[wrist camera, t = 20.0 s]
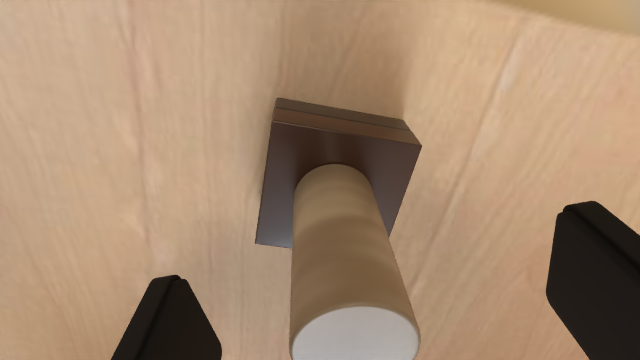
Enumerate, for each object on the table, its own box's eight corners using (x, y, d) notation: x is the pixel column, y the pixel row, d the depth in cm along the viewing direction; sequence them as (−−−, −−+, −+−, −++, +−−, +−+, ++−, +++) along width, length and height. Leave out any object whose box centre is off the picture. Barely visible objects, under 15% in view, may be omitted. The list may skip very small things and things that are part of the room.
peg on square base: (404, 119, 14) (517, 276, 7) (370, 222, 17) (427, 421, 9) (276, 96, 14) (247, 243, 6) (260, 207, 16) (226, 409, 8)
